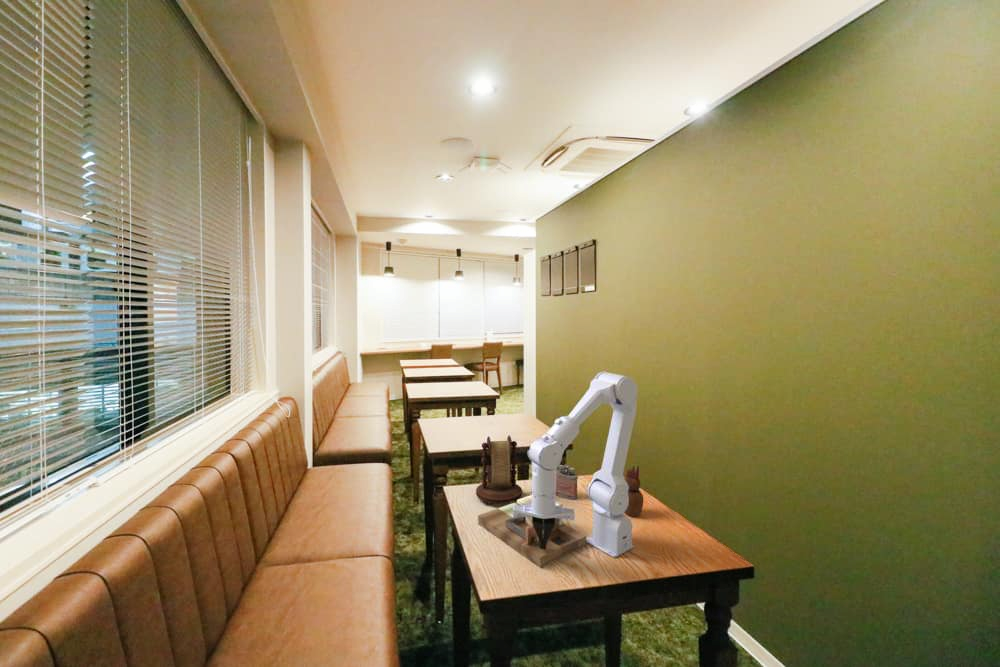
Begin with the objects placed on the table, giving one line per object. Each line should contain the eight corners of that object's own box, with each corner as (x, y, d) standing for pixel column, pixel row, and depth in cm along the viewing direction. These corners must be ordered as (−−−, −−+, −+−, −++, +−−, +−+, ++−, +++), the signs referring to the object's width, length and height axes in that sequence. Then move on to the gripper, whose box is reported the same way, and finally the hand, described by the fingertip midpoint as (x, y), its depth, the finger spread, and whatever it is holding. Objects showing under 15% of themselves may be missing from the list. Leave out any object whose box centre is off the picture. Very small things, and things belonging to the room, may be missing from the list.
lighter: (579, 497, 137) (579, 466, 136) (575, 501, 134) (575, 470, 134) (556, 491, 141) (556, 461, 141) (551, 495, 138) (552, 465, 138)
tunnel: (586, 545, 109) (586, 514, 108) (540, 567, 99) (540, 534, 98) (521, 508, 129) (521, 482, 128) (478, 523, 119) (478, 495, 119)
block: (546, 524, 114) (546, 509, 114) (535, 528, 112) (535, 513, 112) (536, 518, 118) (536, 504, 117) (525, 522, 115) (525, 508, 115)
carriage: (561, 530, 111) (561, 515, 111) (527, 544, 104) (528, 528, 104) (534, 514, 119) (535, 501, 119) (502, 527, 112) (502, 512, 112)
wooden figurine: (646, 517, 124) (648, 466, 123) (630, 520, 122) (632, 469, 121) (631, 507, 130) (632, 459, 129) (616, 510, 128) (617, 461, 127)
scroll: (479, 510, 127) (480, 444, 126) (473, 489, 142) (473, 430, 141) (527, 506, 130) (528, 442, 129) (516, 486, 145) (516, 428, 144)
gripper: (573, 485, 104) (572, 539, 105) (514, 483, 106) (513, 536, 106) (575, 498, 97) (574, 556, 98) (512, 495, 99) (511, 552, 99)
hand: (543, 546), depth 102 cm, fingers closed
